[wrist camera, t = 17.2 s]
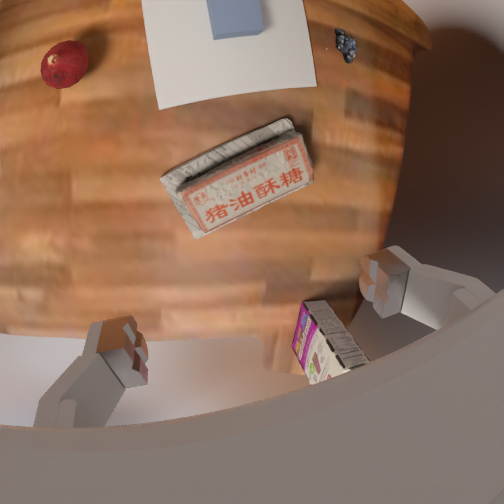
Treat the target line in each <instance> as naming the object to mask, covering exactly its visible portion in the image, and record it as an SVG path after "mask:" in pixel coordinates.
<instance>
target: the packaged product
mask: <svg viewBox="0 0 504 504" xmlns="http://www.w3.org/2000/svg"><path fill="white" fill-rule="evenodd" d="M312 165H313V162H312V160H311V158H310V156H309V154H308V152H307V148H306V145H305V144H304V139H303V135H302V134H300V133H299V132H296V131H295V129H294V126H293V124H292V122H291V120H289V119H287V118H285V119H281V120H278V121H276V122H274V123H272V124H270V125H268V126H266V127H263V128H260V129H257V130H255V131H252V132H249V133H247V134H244V135H242V136H240V137H237V138H235V139H233V140H230V141H228V142H226V143H224V144H221V145H219V146H217V147H215V148H213V149H211V150H209V151H206V152H205V153H202V154H200V155H198V156H196V157H195V158H193V159H191V160H189V161H187V162H185V163H183V164H181V165H179V166H177V167H176V168H174V169H172V170H171V171H169V172H168V173H166V174H165V175H163V176H162V177H161V178H160V180H161V182H162V183H163V185H164V187H165V189H166V191H167V192H168V194H169V196H170V198H171V199H172V201H173V203H174V205H175V206H176V208H177V210H178V212H179V213H180V215H181V217H182V218H183V220H184V222H185V223H186V225H187V226H188V228H189V230H190V231H191V233H192V235H193V236H194V238H195V240H197V239H199V238H201V237H203V236H205V235H207V234H210V233H211V232H213V231H215V230H217V229H219V228H220V227H222V226H224V225H226V224H228V223H231V222H233V221H235V220H237V219H239V218H241V217H243V216H245V215H247V214H249V213H251V212H253V211H255V210H257V209H259V208H261V207H263V206H264V205H266V204H267V203H271V202H273V201H275V200H278V199H280V198H282V197H284V196H286V195H287V194H290V193H292V192H294V191H296V190H299V189H301V188H303V187H305V186H307V185H309V184H311V183H313V181H312V180H313V168H312Z"/></svg>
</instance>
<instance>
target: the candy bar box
mask: <svg viewBox="0 0 504 504" xmlns="http://www.w3.org/2000/svg"><path fill="white" fill-rule="evenodd" d="M292 348H293V350H294V352H295V354H296V356H297V359H298V361H299V362H300V364H301V366H302V368H303V370H304V373H305V375H306V376H307V378H308V380H309V382H310V384H311V385H313V384H316V383H318V382H321V381H324V380H327V379H330V378H332V377H335V376H338V375H340V374H343V373H346V372H348V371H351V370H353V369H356V368H358V367H360V366H363V365H365V364H368V363H370V361H369V359H368V358H367V356H366V355H365V354H364V352H363V351H362V349H361V348H360V347H359V346H358V344H357V343H356V341H355V340H354V338H353V337H352V336H351V334H350V333H349V332H348V330H347V329H346V327H345V326H344V324H343V323H342V322H341V321H340V319H339V318H338V316H337V315H336V314H335V312H334V311H333V309H332V308H331V307H330V306H329V304H328V303H327V301H326V300H316V301H306V302H302V304H301V308H300V313H299V318H298V322H297V326H296V331H295V335H294V339H293V343H292Z"/></svg>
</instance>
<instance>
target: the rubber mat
mask: <svg viewBox="0 0 504 504" xmlns="http://www.w3.org/2000/svg"><path fill="white" fill-rule="evenodd" d="M259 3H260V8H261V13H262V18H263V23H264V28H265V30H264V31H262V32H261V33H260V34H259V35H254V36H243V37H234V38H226V39H219V40H213V35H212V30H211V24H210V19H209V13H208V8H207V3H206V0H142V8H143V15H144V23H145V30H146V37H147V43H148V50H149V56H150V62H151V68H152V74H153V79H154V85H155V90H156V95H157V101H158V106H159V110H162V109H166V108H170V107H174V106H178V105H183V104H187V103H192V102H196V101H201V100H207V99H212V98H217V97H223V96H229V95H235V94H242V93H249V92H257V91H265V90H275V89H285V88H298V87H315V86H317V85H316V77H315V70H314V63H313V57H312V50H311V44H310V38H309V32H308V27H307V21H306V16H305V11H304V6H303V1H302V0H259Z"/></svg>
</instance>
